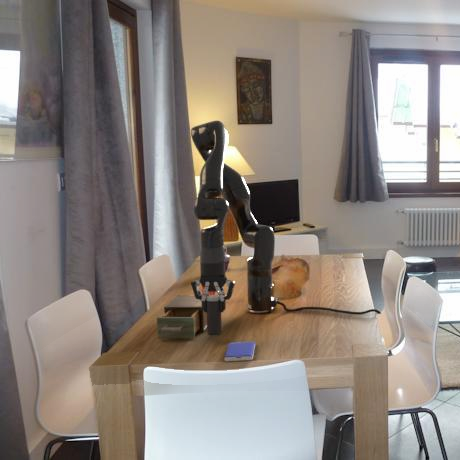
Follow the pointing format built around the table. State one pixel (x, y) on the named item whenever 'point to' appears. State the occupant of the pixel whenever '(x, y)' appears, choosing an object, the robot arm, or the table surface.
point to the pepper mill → (213, 315)
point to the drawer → (179, 324)
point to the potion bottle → (226, 260)
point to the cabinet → (188, 307)
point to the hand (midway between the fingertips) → (214, 311)
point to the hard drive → (240, 351)
